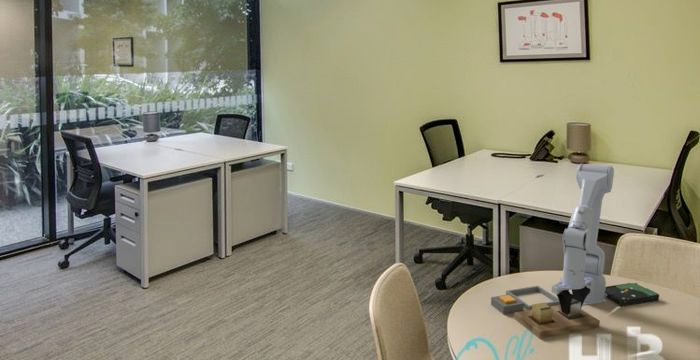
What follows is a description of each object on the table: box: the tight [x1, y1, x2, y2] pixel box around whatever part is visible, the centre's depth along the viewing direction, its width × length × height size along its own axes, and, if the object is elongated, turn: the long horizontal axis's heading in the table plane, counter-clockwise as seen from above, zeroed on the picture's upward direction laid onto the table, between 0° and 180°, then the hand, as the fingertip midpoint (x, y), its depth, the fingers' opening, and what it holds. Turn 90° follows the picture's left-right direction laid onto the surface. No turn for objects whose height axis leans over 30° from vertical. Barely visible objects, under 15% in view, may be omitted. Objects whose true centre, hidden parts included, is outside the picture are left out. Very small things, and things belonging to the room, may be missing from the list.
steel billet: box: [559, 299, 582, 320], centre depth 150 cm, size 4×4×6 cm
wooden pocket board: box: [513, 305, 601, 340], centre depth 149 cm, size 20×12×2 cm, turn 106°
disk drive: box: [604, 282, 660, 308], centre depth 165 cm, size 10×3×15 cm
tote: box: [505, 285, 560, 311], centre depth 164 cm, size 12×12×2 cm
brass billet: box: [531, 302, 553, 325], centre depth 147 cm, size 4×4×6 cm
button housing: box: [490, 294, 524, 315], centre depth 159 cm, size 7×7×3 cm
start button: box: [499, 294, 516, 304], centre depth 159 cm, size 4×4×3 cm
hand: (570, 311), depth 149 cm, fingers closed on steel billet, 4 cm apart
